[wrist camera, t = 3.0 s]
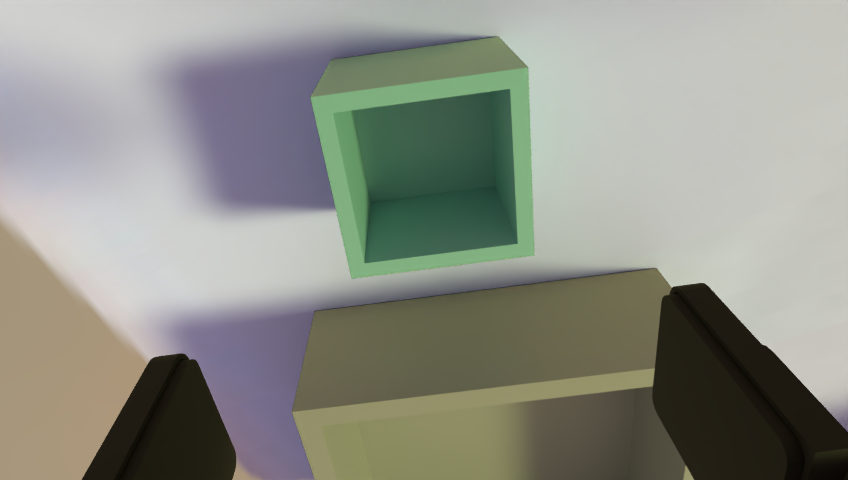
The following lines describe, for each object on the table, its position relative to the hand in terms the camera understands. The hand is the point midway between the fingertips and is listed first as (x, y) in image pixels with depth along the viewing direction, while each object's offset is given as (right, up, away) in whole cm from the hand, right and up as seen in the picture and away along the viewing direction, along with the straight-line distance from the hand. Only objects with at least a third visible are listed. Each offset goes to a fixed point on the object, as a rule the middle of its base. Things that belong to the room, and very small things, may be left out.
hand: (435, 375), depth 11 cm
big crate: (+4, -8, +22) cm, 24 cm away
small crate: (0, +8, +13) cm, 15 cm away
